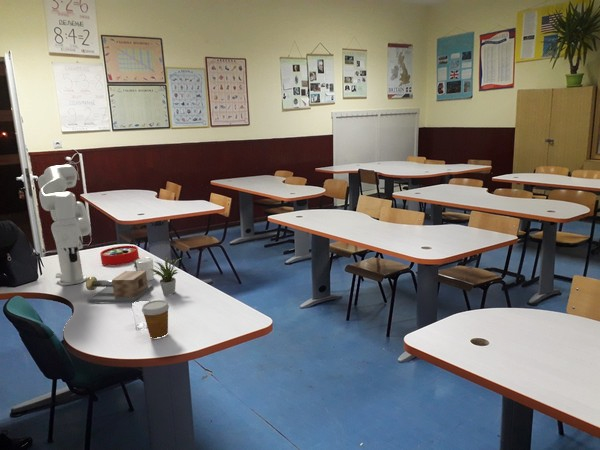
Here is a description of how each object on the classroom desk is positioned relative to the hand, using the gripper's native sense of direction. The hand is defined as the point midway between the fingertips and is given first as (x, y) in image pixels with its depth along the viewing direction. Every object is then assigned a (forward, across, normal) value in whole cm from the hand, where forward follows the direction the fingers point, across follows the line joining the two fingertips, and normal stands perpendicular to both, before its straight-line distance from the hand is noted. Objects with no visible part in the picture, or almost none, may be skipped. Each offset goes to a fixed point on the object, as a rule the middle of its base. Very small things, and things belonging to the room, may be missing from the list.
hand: (74, 261), depth 221 cm
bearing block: (+15, +26, +1) cm, 30 cm away
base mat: (+16, +20, +1) cm, 26 cm away
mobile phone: (+16, +11, +36) cm, 41 cm away
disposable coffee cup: (+18, +56, -38) cm, 71 cm away
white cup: (+16, +22, +22) cm, 35 cm away
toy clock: (+16, -9, +54) cm, 57 cm away
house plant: (+17, +42, +5) cm, 46 cm away
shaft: (+14, +15, +1) cm, 20 cm away
